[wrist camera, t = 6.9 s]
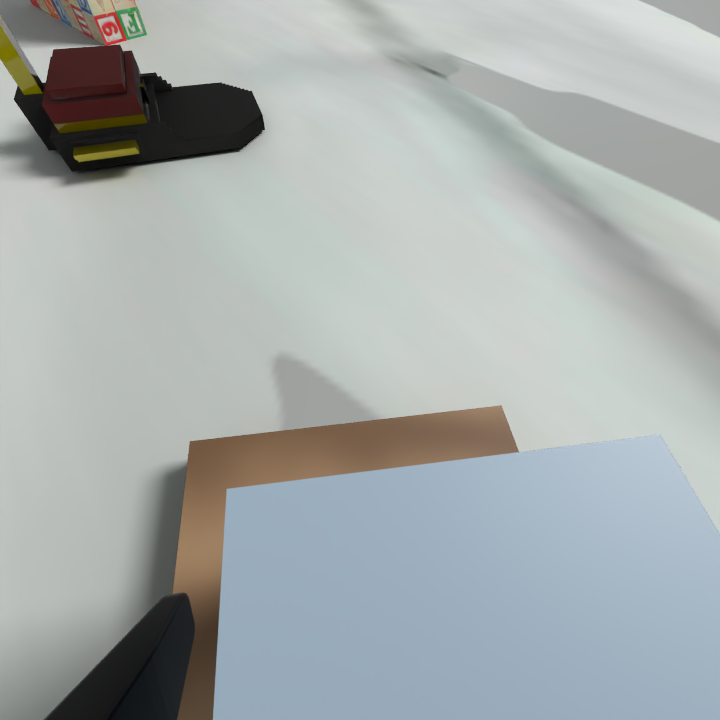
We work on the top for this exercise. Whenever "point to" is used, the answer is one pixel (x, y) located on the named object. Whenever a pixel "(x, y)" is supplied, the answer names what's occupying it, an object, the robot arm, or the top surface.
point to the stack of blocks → (98, 18)
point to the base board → (288, 463)
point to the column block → (474, 592)
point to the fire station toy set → (124, 108)
